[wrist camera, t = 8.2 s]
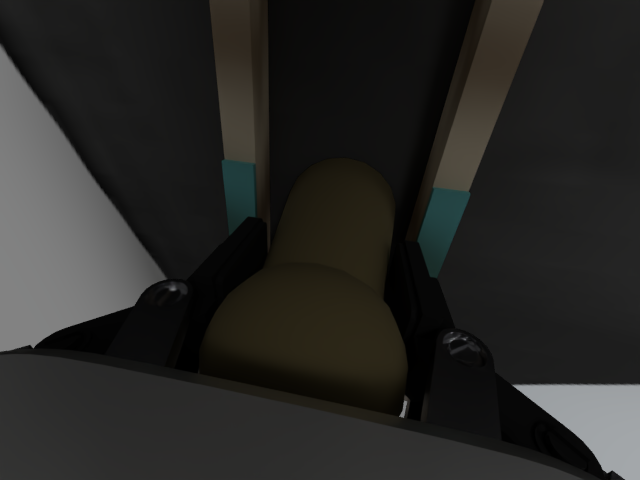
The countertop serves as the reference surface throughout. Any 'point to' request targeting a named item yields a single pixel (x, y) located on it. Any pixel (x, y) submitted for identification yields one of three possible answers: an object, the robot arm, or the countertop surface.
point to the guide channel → (451, 137)
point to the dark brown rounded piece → (319, 298)
